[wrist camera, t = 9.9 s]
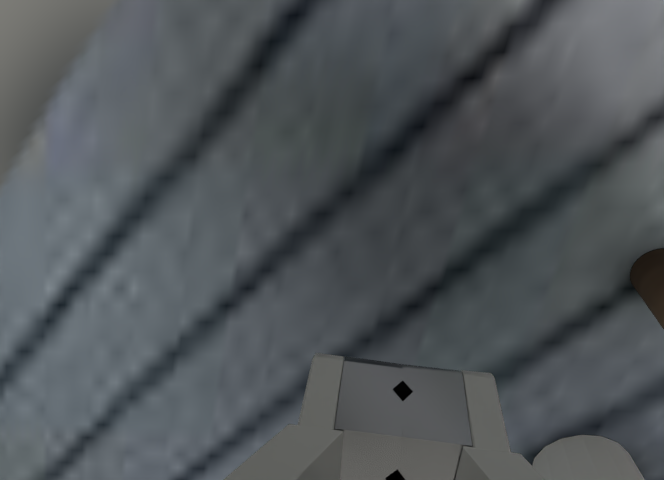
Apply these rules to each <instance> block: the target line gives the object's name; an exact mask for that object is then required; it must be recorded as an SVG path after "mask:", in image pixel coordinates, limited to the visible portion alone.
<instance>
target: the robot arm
mask: <svg viewBox="0 0 664 480" xmlns="http://www.w3.org/2000/svg"><path fill="white" fill-rule="evenodd" d="M224 480H545V479H544V478H543V477H542V476H541V475H540V474H539V473H538V472H537V471H536V470H535V468H534V467H533V466H532V465H531V464H530V463H529V462H528V461H527V460H526V459H525V458H524V457H523V456H522V455H521V454H519V453H512V452H511V451H510V446H509V442H508V437H507V433H506V428H505V423H504V419H503V414H502V410H501V405H500V401H499V396H498V391H497V387H496V382H495V378H494V376H493V375H492V374H491V373H485V372H475V371H464V370H461V371H459V370H450V369H441V368H432V367H422V366H413V365H404V364H397V363H389V362H382V361H375V360H368V359H361V358H354V357H347V356H345V359H344V357H343V356H336V355H328V354H321V353H315V355H314V357H313V359H312V363H311V368H310V372H309V377H308V381H307V386H306V390H305V395H304V399H303V404H302V408H301V413H300V417H299V422H298V425H292V424H288V425H287V426H286V427H285V428H284V429H283V430H281V431H280V432H279V433H278V434H277V435H275V436H274V437H273V438H272V439H271V440H270V441H268V442H267V443H266V444H265V445H264V446H263V447H261V448H260V449H259V450H258V451H257V452H255V453H254V454H253V455H252V456H251V457H250V458H248V459H247V460H246V461H245V462H244V463H242V464H241V465H240V466H239V467H238V468H237V469H235V470H234V471H233V472H232V473H231V474H230V475H228V476H227V477H226V478H225V479H224Z"/></svg>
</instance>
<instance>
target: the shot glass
mask: <svg viewBox="0 0 664 480" xmlns="http://www.w3.org/2000/svg"><path fill="white" fill-rule="evenodd" d="M532 466H533V467H534V468H535V470H536V471H537V472H538V473H539V474H540V475H541V476H542V477H543V478H544V479H545V480H645V479H644V478H643V476H642V474H641V473H640V471H639V469H638V468H637V466H636V464H635V462H634V461H633V459H632V457H631V456H630V454H629V453H628V452H627V451H626V450H625V449H624V448H623V447H622V446H621V445H620V444H619V443H617V442H615V441H612V440H610V439H607V438H605V437H602V436H591V435H577V436H572V437H567V438H562V439H559V440H557V441H555V442H553V443H551V444H549V445H547V446H545V447H544V448H543V449H542V450H541V451H540V453H539V454H538V455H537V456H536V457H535V458H534V461H533V465H532Z"/></svg>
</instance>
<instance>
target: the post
mask: <svg viewBox="0 0 664 480" xmlns="http://www.w3.org/2000/svg"><path fill="white" fill-rule="evenodd" d="M630 280H631V283H632V285H633V286H634V288H635V289H636V290H637V292H638V293H639V295H640V296H641V298H642V299H643V300H644V302H645V303H646V305H647V306H648V308H649V309H650V310H651V312H652V313H653V315H654V316H655V318H656V319H657V320H658V322H659V323H660V325H661V326H662V328H663V329H664V249H657V250H653V251H650V252H648V253H646V254H644V255H643V256H641V257H640V258H639V259H638V260H637V261H636V262H635V263H634V265H633V267H632V269H631V272H630Z"/></svg>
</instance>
